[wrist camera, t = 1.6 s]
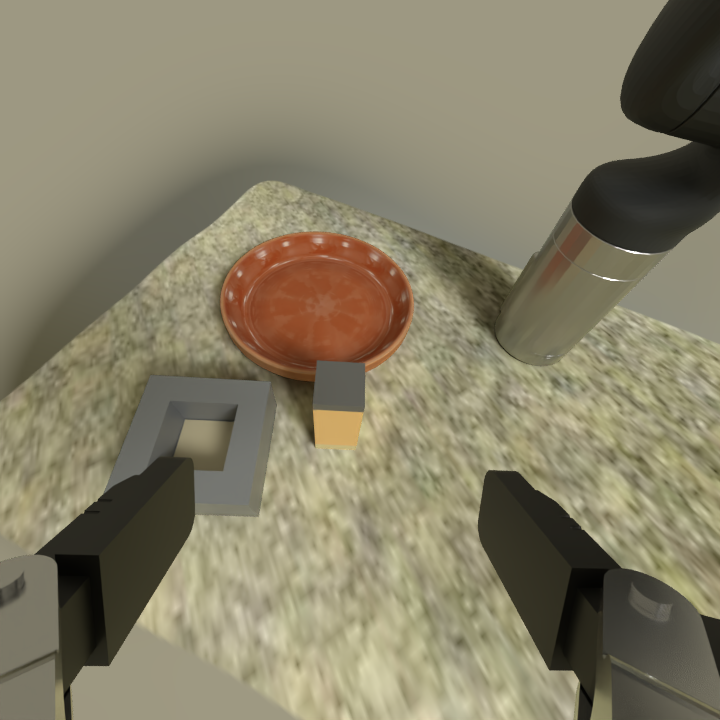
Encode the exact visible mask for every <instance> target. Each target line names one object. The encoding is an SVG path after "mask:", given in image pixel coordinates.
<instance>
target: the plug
mask: <svg viewBox="0 0 720 720" xmlns="http://www.w3.org/2000/svg"><path fill="white" fill-rule="evenodd" d="M364 408H365V363H353V362H337V361H320V360H317V366H316V375H315V385H314V395H313V417H314V432H315V446H316V448H322V449H344V450H356V446H357V441H358V436H359V431H360V427H361V422H362V417H363V412H364Z"/></svg>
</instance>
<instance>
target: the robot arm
mask: <svg viewBox="0 0 720 720" xmlns="http://www.w3.org/2000/svg"><path fill="white" fill-rule="evenodd" d="M620 101H621V108H622V111H623V113H624V114H625V116H626V117H627V118H628V119H629V120H631V121H632V122H634V123H636V124H638V125H640V126H642V127H644V128H646V129H649V130H652V131H655V132H660V133H664V134H667V135H670V136H674V137H678V138H682V139H686V140H690V141H692V142H691V143H690V144H688V145H686V146H683V147H681V148H679V149H676V150H673V151H671V152H668V153H664V154H660V155H656V156H651V157H645V158H636V159H625V160H617V161H612V162H608V163H605V164H602V165H600V166H598V167H597V168H595V169H594V170H592V171H591V172H590V174H589V175H588V176H587V177H586V178H585V179H584V181H583V182H582V184H581V185H580V187H579V189H578V190H577V192H576V193H575V195H574V197H573V198H572V200H571V202H570V203H569V205H568V206H567V208H566V209H565V211H564V213H563V214H562V216H561V217H560V219H559V221H558V222H557V224H556V226H555V227H554V229H553V230H552V232H551V234H550V235H549V237H548V238H547V240H546V242H545V243H544V245H543V246H542V248H541V250H540V251H539V252H535V253H534V254H533V255H532V257H531V258H530V260H529V262H528V263H527V265H526V266H525V268H524V270H523V271H522V273H521V275H520V276H519V278H518V279H517V281H516V283H515V284H514V286H513V288H512V289H511V291H510V292H509V294H508V296H507V297H506V299H505V301H504V302H503V304H502V306H501V307H500V310H501V313H500V315H499V316H498V318H497V320H496V323H495V333H496V337H497V339H498V341H499V343H500V344H501V345H502V347H503V348H504V349H505V350H506V351H507V352H508V353H509V354H511V355H512V356H513V357H515V358H516V359H518V360H520V361H522V362H525V363H528V364H531V365H537V366H547V365H552V364H555V363H556V362H558V361H560V360H561V359H562V358H563V357H564V356H565V355H566V354H567V353H568V352H569V351H570V350H571V349H572V348H573V347H574V346H575V345H576V344H577V343H578V342H579V341H580V340H581V339H582V338H583V337H584V336H585V335H586V334H587V333H588V332H589V331H591V330H592V329H593V328H594V327H595V326H596V325H597V324H598V323H599V322H600V321H601V320H602V319H603V318H604V317H605V316H606V315H607V314H608V313H609V312H610V311H611V310H612V309H613V308H614V307H615V306H616V305H617V304H618V303H619V302H620V301H621V300H622V299H623V298H624V297H625V296H626V295H627V294H628V293H629V292H630V291H631V290H632V289H633V288H634V287H635V286H636V285H637V284H638V283H639V282H640V281H641V280H642V279H643V278H644V277H645V276H646V275H647V274H648V273H649V272H650V271H651V270H652V269H653V268H654V267H655V266H656V265H657V264H658V263H659V262H660V261H661V260H662V259H663V258H664V257H665V256H666V255H667V254H668V253H669V252H670V251H671V250H672V249H673V248H674V247H675V246H676V245H677V244H678V243H679V242H680V241H681V240H682V239H683V238H684V237H685V236H687V235H688V234H689V233H691V232H692V231H694V230H696V229H698V228H699V227H701V226H702V225H704V224H705V223H707V222H708V221H709V220H711V219H712V218H713V217H714V216H715V215H716V214H717V213H719V212H720V0H669V1H668V2H667V4H666V5H665V6H664V8H663V9H662V11H661V12H660V14H659V15H658V17H657V18H656V20H655V21H654V23H653V24H652V26H651V27H650V29H649V31H648V32H647V34H646V36H645V38H644V39H643V41H642V43H641V44H640V46H639V48H638V49H637V51H636V53H635V55H634V57H633V59H632V61H631V63H630V65H629V67H628V70H627V73H626V75H625V78H624V81H623V85H622V90H621V96H620ZM194 517H195V487H194V464H193V460H192V459H191V458H189V457H164V456H161V457H158V458H157V459H156V460H155V461H154V462H153V463H152V464H151V465H150V466H149V467H147V468H146V469H145V470H144V471H143V472H142V473H141V474H140V475H133V476H131V477H129V478H127V479H125V480H123V481H121V482H120V483H118V484H116V485H114V486H112V487H111V488H110V489H109V490H108V491H107V492H106V493H104V494H103V495H102V496H101V497H100V498H99V499H98V501H97V502H94V503H93V504H92V505H91V506H89V507H88V508H87V509H86V510H85V512H84V514H80V515H79V516H78V517H77V518H76V519H75V520H73V521H72V522H71V523H70V524H69V525H68V526H67V527H65V528H64V529H63V530H62V531H61V532H60V533H59V534H57V535H56V536H55V537H54V538H53V539H52V540H50V541H49V542H48V543H47V544H46V545H45V546H44V547H42V548H41V549H40V550H39V551H38V552H37V553H36V554H34V555H26V556H19V557H14V558H11V559H7V560H4V561H1V562H0V720H73V701H72V689H71V683H72V682H73V680H74V679H75V677H76V676H77V674H78V673H79V672H80V670H81V669H82V667H83V666H109V665H110V664H111V662H112V660H113V659H114V657H115V655H116V654H117V652H118V651H119V649H120V647H121V646H122V644H123V642H124V641H125V639H126V637H127V636H128V634H129V633H130V631H131V629H132V628H133V626H134V624H135V623H136V621H137V620H138V618H139V616H140V615H141V613H142V611H143V610H144V608H145V607H146V605H147V603H148V602H149V600H150V598H151V597H152V595H153V594H154V592H155V590H156V589H157V587H158V585H159V584H160V582H161V580H162V579H163V577H164V576H165V574H166V572H167V571H168V569H169V567H170V566H171V564H172V563H173V561H174V559H175V558H176V556H177V554H178V553H179V551H180V550H181V548H182V546H183V545H184V543H185V541H186V540H187V538H188V536H189V534H190V532H191V530H192V526H193V523H194ZM478 532H479V537H480V541H481V544H482V546H483V548H484V550H485V552H486V553H487V555H488V557H489V559H490V561H491V563H492V565H493V566H494V568H495V570H496V572H497V574H498V576H499V578H500V579H501V581H502V583H503V585H504V587H505V589H506V591H507V592H508V594H509V596H510V598H511V600H512V602H513V604H514V606H515V607H516V609H517V611H518V613H519V615H520V617H521V619H522V620H523V622H524V624H525V626H526V628H527V630H528V632H529V633H530V635H531V637H532V639H533V641H534V643H535V645H536V646H537V648H538V650H539V652H540V654H541V656H542V658H543V659H544V661H545V663H546V665H547V667H548V669H549V670H572V671H574V672H575V674H576V676H577V677H578V679H579V683H578V687H577V692H576V698H575V711H574V720H720V620H719V619H716V618H712V617H708V616H704V615H700V614H699V613H698V611H697V610H696V608H695V607H694V606H693V605H692V604H691V603H690V602H689V601H688V600H687V599H686V598H685V597H684V596H682V595H681V594H680V593H679V592H677V591H676V590H674V589H673V588H672V587H670V586H668V585H667V584H665V583H663V582H662V581H660V580H658V579H656V578H654V577H651V576H649V575H647V574H644V573H641V572H638V571H634V570H630V569H622V568H621V567H620V566H619V565H618V564H617V563H616V562H615V561H614V560H613V559H612V558H611V557H610V556H609V555H608V554H607V553H606V552H605V551H604V550H603V549H602V548H601V547H600V546H599V545H598V544H597V543H596V542H595V541H594V540H593V539H592V538H591V537H590V536H589V535H588V534H587V533H586V532H585V530H581V526H580V525H579V524H578V523H577V522H576V521H575V520H574V519H573V518H570V515H569V514H568V513H567V512H566V511H565V510H564V509H563V508H562V507H561V506H560V505H559V504H558V503H557V502H556V501H554V500H552V499H551V498H549V497H548V496H546V495H544V494H543V493H541V492H540V491H538V490H535V489H534V488H533V487H532V486H531V485H530V484H529V483H528V482H527V481H526V480H525V479H524V478H523V477H522V476H521V474H520V473H518V472H517V471H497V470H489V471H488V472H487V473H486V475H485V479H484V485H483V492H482V498H481V505H480V511H479V518H478Z"/></svg>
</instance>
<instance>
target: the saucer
mask: <svg viewBox="0 0 720 720" xmlns="http://www.w3.org/2000/svg"><path fill="white" fill-rule="evenodd" d="M220 308H221V314H222V318H223V321H224V324H225V326H226V328H227V331H228V333H229V335H230V337H231V339H232V340H233V342H234V343H235V345H236V346H237V347H238V348H239V350H240V351H241V352H242V353H243V354H244V355H245V356H246V357H248V358H249V359H250V360H251V361H253V362H254V363H256V364H257V365H259V366H261V367H262V368H264V369H266V370H268V371H270V372H272V373H275V374H277V375H280V376H283V377H287V378H290V379H295V380H302V381H313V382H315V375H316V366H317V360H320V361H337V362H353V363H365V372H367V371H369V370H371V369H373V368H375V367H377V366H378V365H380V364H381V363H383V362H384V361H386V360H387V359H388V358H389V357H390V356H391V355H392V354H393V353H394V352H395V351H396V350H397V349H398V348H399V346H400V345H401V343H402V342H403V340H404V338H405V336H406V334H407V332H408V329H409V327H410V324H411V321H412V317H413V311H414V299H413V293H412V289H411V286H410V284H409V281H408V279H407V277H406V276H405V274H404V273H403V271H402V270H401V268H400V267H399V266H398V265H397V264H396V263H395V262H394V261H393V260H392V259H391V258H390V257H389V256H388V255H386V254H385V253H384V252H382V251H381V250H379V249H378V248H376V247H374V246H372V245H370V244H368V243H366V242H364V241H361V240H359V239H356V238H353V237H350V236H346V235H342V234H336V233H330V232H299V233H292V234H287V235H283V236H279V237H276V238H273V239H270V240H268V241H266V242H263V243H261V244H259V245H258V246H256V247H254V248H253V249H251V250H250V251H248V252H247V253H246V254H244V255H243V256H242V257H241V258H240V259H239V260H238V261H237V262H236V263H235V264H234V265H233V267H232V268H231V269H230V271H229V273H228V274H227V276H226V278H225V281H224V283H223V286H222V290H221V295H220Z"/></svg>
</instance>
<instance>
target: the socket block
mask: <svg viewBox="0 0 720 720" xmlns="http://www.w3.org/2000/svg"><path fill="white" fill-rule="evenodd" d="M276 407H277V404H276V400H275V396H274V392H273V389H272V385H271V382H268V381H250V380H233V379H215V378H197V377H179V376H161V375H150V378H149V380H148V383H147V385H146V388H145V390H144V393H143V395H142V398H141V400H140V403H139V405H138V408H137V410H136V413H135V416H134V418H133V421H132V423H131V426H130V428H129V431H128V433H127V436H126V438H125V441H124V443H123V446H122V448H121V451H120V453H119V456H118V458H117V461H116V464H115V466H114V469H113V471H112V474H111V476H110V479H109V481H108V484H107V486H106V489H105V491H104V493H106V492H107V491H108V490H109V489H110V488H111V487H112V486H114V485H116V484H118V483H120V482H121V481H123V480H125V479H127V478H129V477H131V476H133V475H140V474H141V473H142V472H143V471H144V470H145V469H146V468H147V467H149V466H150V465H151V464H152V463H153V462H154V461H155V460H156V459H157V458H158V457H161V456H164V457H189V458H191V459H192V460H193V464H194V487H195V514H197V515H225V516H254V517H259V511H260V505H261V499H262V493H263V487H264V481H265V474H266V468H267V462H268V456H269V450H270V444H271V437H272V431H273V425H274V419H275V413H276Z"/></svg>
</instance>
